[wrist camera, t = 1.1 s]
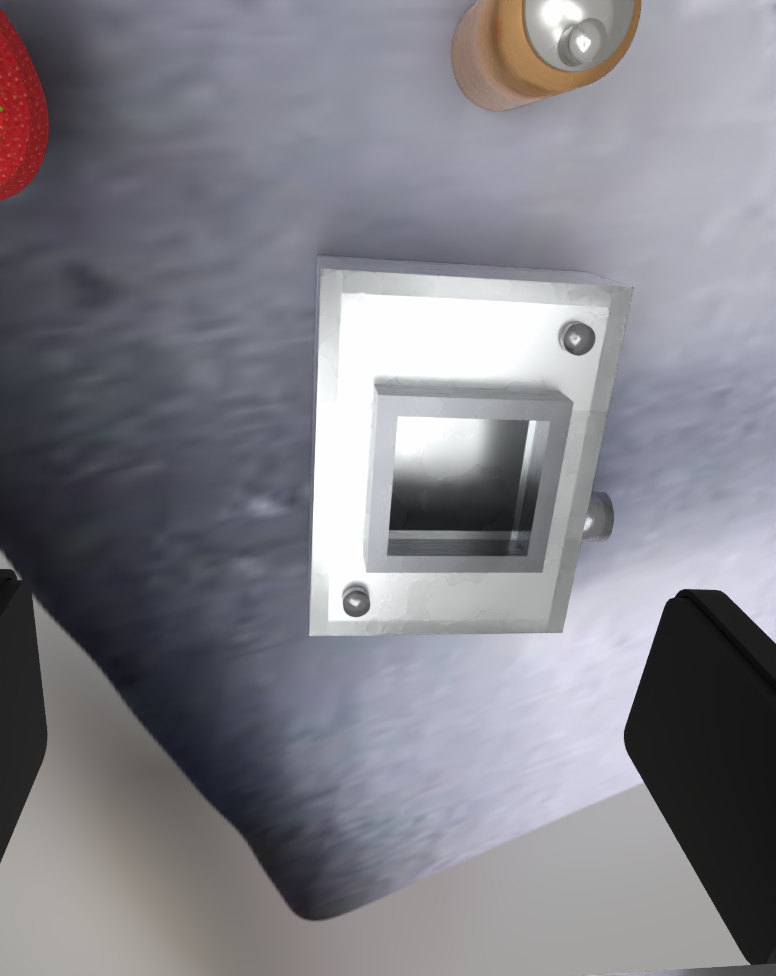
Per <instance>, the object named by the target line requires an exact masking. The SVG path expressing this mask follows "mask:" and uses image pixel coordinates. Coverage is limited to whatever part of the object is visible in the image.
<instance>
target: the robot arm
mask: <svg viewBox="0 0 776 976" xmlns="http://www.w3.org/2000/svg"><path fill="white" fill-rule="evenodd" d="M624 743H625V747H626V750H627V753H628V755H629V757H630V758H631V760H632V762H633V764H634V765H635V767H636V769H637V771H638V772H639V774H640V776H641V778H642V779H643V781H644V783H645V785H646V786H647V788H648V790H649V792H650V793H651V795H652V797H653V799H654V800H655V802H656V804H657V806H658V807H659V809H660V811H661V812H662V814H663V816H664V818H665V820H666V821H667V823H668V825H669V827H670V828H671V830H672V832H673V834H674V835H675V837H676V839H677V841H678V842H679V844H680V846H681V848H682V849H683V851H684V853H685V854H686V856H687V858H688V860H689V862H690V863H691V865H692V867H693V868H694V870H695V872H696V874H697V876H698V877H699V879H700V881H701V883H702V884H703V886H704V888H705V890H706V891H707V893H708V895H709V897H710V898H711V900H712V902H713V904H714V905H715V907H716V909H717V911H718V912H719V914H720V916H721V918H722V919H723V921H724V923H725V924H726V926H727V928H728V930H729V931H730V933H731V935H732V937H733V938H734V940H735V942H736V944H737V945H738V947H739V949H740V951H741V952H742V954H743V955H744V957H745V959H746V960H747V961H748V962H749V963H750V964H751V965H745V966H729V967H712V968H695V969H678V970H663V971H645V972H630V973H613V974H598V975H582V976H776V644H775V643H774V642H773V641H772V640H771V639H770V638H769V637H768V636H767V635H766V634H765V633H764V632H763V631H762V630H761V629H760V628H759V627H758V626H757V625H756V624H755V623H754V622H753V621H752V620H751V619H750V618H749V617H748V616H747V615H746V614H745V613H744V612H743V611H742V610H741V609H740V608H739V607H738V606H737V605H736V604H735V603H734V602H733V601H732V600H731V599H730V598H729V597H728V596H727V595H726V594H724V593H723V592H722V591H718V590H697V589H684V590H681V591H679V592H678V593H677V595H676V596H675V598H672V599H669V600H668V601H667V603H666V605H665V607H664V610H663V613H662V616H661V619H660V622H659V625H658V628H657V631H656V634H655V637H654V640H653V644H652V647H651V650H650V653H649V656H648V659H647V662H646V665H645V668H644V671H643V674H642V677H641V680H640V683H639V686H638V689H637V692H636V696H635V699H634V702H633V705H632V708H631V711H630V714H629V717H628V720H627V723H626V726H625V730H624ZM46 745H47V725H46V715H45V707H44V698H43V689H42V680H41V672H40V663H39V653H38V645H37V637H36V627H35V618H34V609H33V600H32V591H31V586H30V584H29V582H28V581H26V580H17V576H16V574H15V572H14V571H13V570H11V569H0V862H1V860H2V858H3V855H4V853H5V850H6V848H7V846H8V843H9V841H10V838H11V836H12V834H13V831H14V829H15V826H16V824H17V821H18V819H19V817H20V814H21V812H22V809H23V807H24V805H25V802H26V800H27V797H28V795H29V793H30V790H31V788H32V785H33V783H34V781H35V778H36V776H37V774H38V771H39V769H40V766H41V764H42V762H43V758H44V755H45V751H46Z"/></svg>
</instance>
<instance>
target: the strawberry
mask: <svg viewBox="0 0 776 976" xmlns="http://www.w3.org/2000/svg"><path fill="white" fill-rule="evenodd" d="M48 139H49V116H48V108H47V102H46V98H45V95H44V91H43V88H42V85H41V82H40V79H39V77H38V75H37V72H36V70H35V68H34V65H33V63H32V61H31V58H30V56H29V54H28V51H27V49H26V47H25V45H24V44H23V42H22V40H21V39H20V37H19V35H18V34H17V32H16V30H15V28H14V27H13V25H12V23H11V22H10V20H9V19H8V18H7V17H6V15H5V14H4V13H3V11H2V10H1V9H0V201H1V200H4V199H6V198H8V197H11V196H13V195H15V194H17V193H19V192H20V191H21V190H22V189H23V188H24V187H26V186H27V185H28V184H29V183H30V182H31V181H32V179H33V178H34V176H35V174H36V173H37V171H38V169H39V168H40V166H41V164H42V161H43V158H44V155H45V152H46V148H47V144H48Z"/></svg>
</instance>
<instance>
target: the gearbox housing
mask: <svg viewBox="0 0 776 976" xmlns="http://www.w3.org/2000/svg"><path fill="white" fill-rule="evenodd" d="M632 292H633V287H630V286H627V285H624V284H621V283H618V282H615V281H612V280H609V279H606V278H602V277H599V276H596V275H593V274H590V273H587V272H582V271H566V270H550V269H534V268H518V267H502V266H486V265H470V264H454V263H438V262H422V261H406V260H390V259H374V258H358V257H342V256H326V255H317V272H316V307H315V342H314V376H313V411H312V445H311V480H310V514H309V549H308V606H309V636H355V635H429V634H503V633H562V632H563V627H564V623H565V618H566V613H567V608H568V603H569V598H570V593H571V588H572V584H573V579H574V574H575V569H576V564H577V559H578V554H579V550H580V545H581V542H604V541H606V540H607V539H608V538H609V536H610V534H611V532H612V528H613V522H614V512H613V506H612V502H611V500H610V497H609V496H608V495H607V494H606V493H605V492H591V491H592V486H593V481H594V477H595V472H596V467H597V462H598V457H599V452H600V447H601V443H602V438H603V433H604V428H605V423H606V418H607V413H608V409H609V404H610V399H611V394H612V389H613V384H614V379H615V374H616V370H617V365H618V360H619V355H620V350H621V345H622V340H623V336H624V331H625V326H626V321H627V316H628V311H629V306H630V302H631V297H632Z"/></svg>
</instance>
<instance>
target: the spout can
mask: <svg viewBox="0 0 776 976" xmlns="http://www.w3.org/2000/svg"><path fill="white" fill-rule="evenodd" d="M640 11H641V0H477V1H476V2H475V3H474V4H473V5H472V6H471V7H470V8H469V9H468V10H467V12H466V13H465V14H464V16H463V17H462V19H461V20H460V22H459V24H458V26H457V29H456V31H455V34H454V38H453V42H452V51H451V59H452V67H453V72H454V75H455V79H456V81H457V83H458V85H459V87H460V89H461V90H462V92H463V93H464V94H465V96H466V97H467V98H468V99H469V100H470V101H472V102H473V103H474V104H476V105H477V106H479V107H481V108H484V109H487V110H491V111H505V110H510V109H513V108H516V107H519V106H523V105H526V104H529V103H532V102H535V101H538V100H541V99H545V98H548V97H551V96H554V95H557V94H560V93H563V92H566V91H570V90H573V89H576V88H579V87H582V86H585V85H588V84H591V83H593V82H595V81H597V80H599V79H600V78H602V77H603V76H605V75H606V74H607V73H609V72H610V71H611V70H612V69H613V68H614V67H615V66H616V65H617V64H618V63H619V61H620V60H621V59H622V57H623V56H624V55H625V53H626V51H627V50H628V48H629V46H630V44H631V42H632V40H633V38H634V35H635V32H636V29H637V26H638V22H639V18H640Z"/></svg>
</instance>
